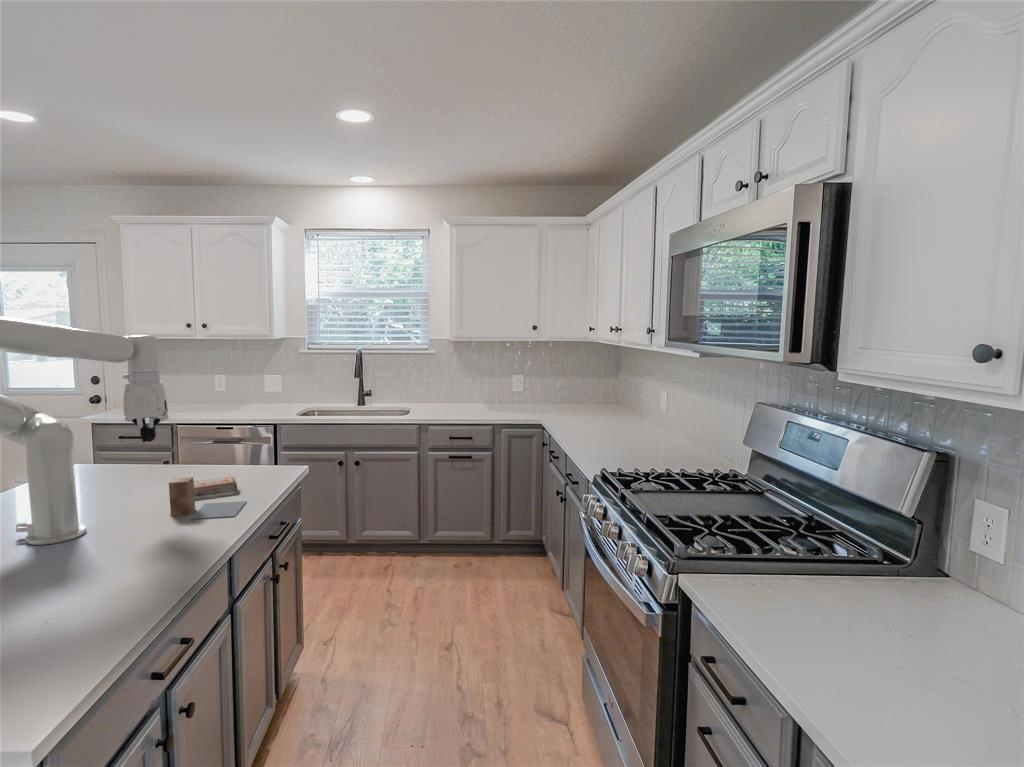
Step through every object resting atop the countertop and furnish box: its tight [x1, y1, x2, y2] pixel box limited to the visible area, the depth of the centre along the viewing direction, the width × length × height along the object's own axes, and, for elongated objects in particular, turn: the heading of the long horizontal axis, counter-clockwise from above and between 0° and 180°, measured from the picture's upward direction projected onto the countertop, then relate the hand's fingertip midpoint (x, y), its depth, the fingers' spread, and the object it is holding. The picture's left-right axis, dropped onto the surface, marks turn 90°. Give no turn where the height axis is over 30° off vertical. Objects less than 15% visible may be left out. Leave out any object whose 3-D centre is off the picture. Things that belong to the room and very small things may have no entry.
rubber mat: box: [189, 500, 248, 521], centre depth 172 cm, size 12×14×1 cm
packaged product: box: [194, 476, 239, 501], centre depth 188 cm, size 18×5×10 cm
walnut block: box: [168, 476, 196, 517], centre depth 170 cm, size 5×5×10 cm
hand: (148, 440), depth 166 cm, fingers closed
